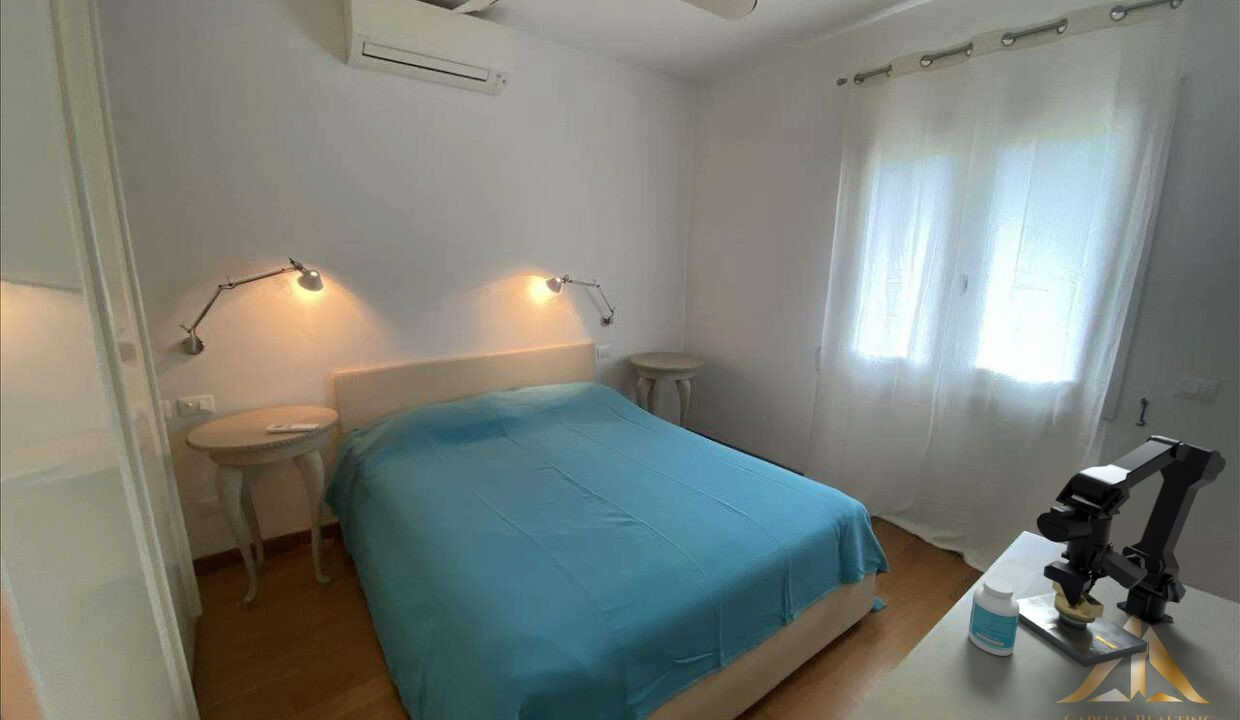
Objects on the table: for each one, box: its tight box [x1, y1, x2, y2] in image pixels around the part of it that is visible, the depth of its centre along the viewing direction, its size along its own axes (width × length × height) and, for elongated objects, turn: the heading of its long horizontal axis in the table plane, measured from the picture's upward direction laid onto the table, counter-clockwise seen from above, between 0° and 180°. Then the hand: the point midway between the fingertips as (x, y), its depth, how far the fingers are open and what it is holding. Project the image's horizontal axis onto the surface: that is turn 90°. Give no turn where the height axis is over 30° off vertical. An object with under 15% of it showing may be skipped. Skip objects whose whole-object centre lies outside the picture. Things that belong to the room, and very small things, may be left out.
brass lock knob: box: [1051, 580, 1105, 623], centre depth 100 cm, size 9×6×5 cm
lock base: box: [1016, 591, 1149, 668], centre depth 101 cm, size 16×16×4 cm
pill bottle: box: [968, 577, 1020, 657], centre depth 97 cm, size 8×7×14 cm
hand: (1076, 601), depth 100 cm, fingers closed on brass lock knob, 4 cm apart
